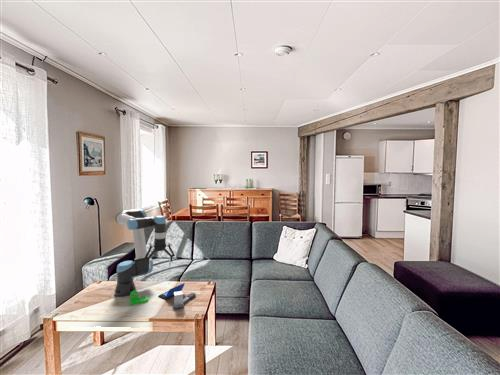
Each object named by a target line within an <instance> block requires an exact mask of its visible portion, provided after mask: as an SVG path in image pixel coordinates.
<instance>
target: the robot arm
mask: <svg viewBox="0 0 500 375" xmlns="http://www.w3.org/2000/svg"><path fill="white" fill-rule="evenodd" d="M114 219H115V222H116V224H118V225H121V226H126V227H127V229H128V230H129V231H132V235H133V237H132V238H133V243H134V250H135V251H134V252H135V258H134V259H133V260H134V261H133V260H124V261H122V262H120V263H118V264H117V266H116V285H115V289H114V295H115V296H117V297H126V296H130V293H131V292H132V291H134V290H135V291H137V287H136V284H135V282H134V281H135V280H134V278H137V277H140V276H146V275H149V274H151V273H152V272H153V269H154V261H153V258H152V256H153V255H155V253H156V252H163V251H164V252H165V253H166V254H167V255H168V266H169V268H171V267H172V266H171V264H172V262H173V258H174V257H175V256H176V255H175V253H174V251H173V248H172V247H171V244H170V243H166V237H167V236H166V231H167V230H166V227H167V226H166V225H167V224H166V223H167V220H166V219H167V218H166V216H165V215H151V216H150V215H149V217H148V215H147V212H146V211H145V210H144V209H143V208H134V209H123V210H121V211H119V212H117V213H116V215H115V218H114ZM149 228H153V229H154V239H153V240H154V241H153V242H154V244H153V245H152V244H149V247H148V250H147V244H146V237H145V229H149ZM166 247H167V248H168V249H169V250H167V249H166ZM153 248H154V249H153ZM152 249H153V250H152ZM169 251H170V252H169Z"/></svg>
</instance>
